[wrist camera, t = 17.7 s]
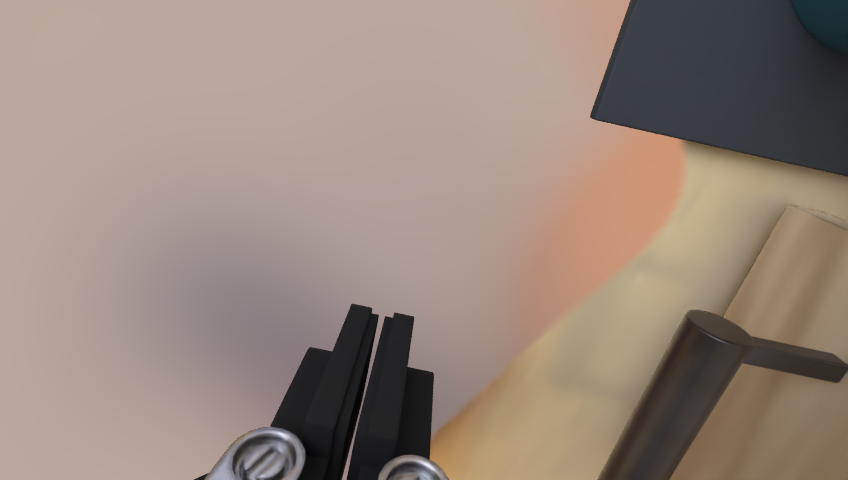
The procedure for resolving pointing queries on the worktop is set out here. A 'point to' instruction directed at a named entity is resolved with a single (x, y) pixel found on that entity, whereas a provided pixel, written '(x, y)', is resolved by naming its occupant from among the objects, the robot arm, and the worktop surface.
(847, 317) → the drawer
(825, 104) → the mat
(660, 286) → the worktop surface
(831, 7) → the teal blue cylinder
